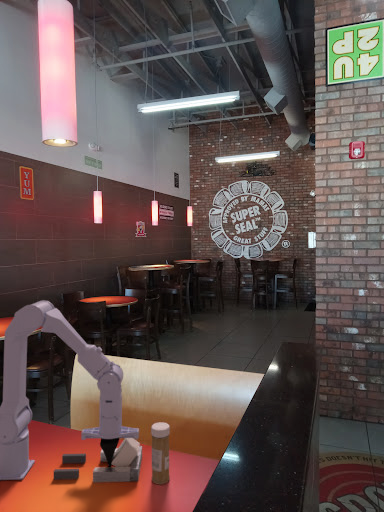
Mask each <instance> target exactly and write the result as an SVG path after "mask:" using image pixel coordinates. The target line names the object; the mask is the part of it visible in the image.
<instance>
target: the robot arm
mask: <svg viewBox="0 0 384 512" xmlns="http://www.w3.org/2000/svg"><path fill="white" fill-rule="evenodd" d="M40 327H41V330H40V332H42V333H53V334H56V335H57V337H59V338H60V339H61V340H62V341H63V342H64V343H65V344H66V345H67V346H68V347H69V348H71V349H72V350H73V352H75V353H76V354H77V362H78V363H79V364H80V365H81V366H82V367H83V369H84V370H85V371H87V373H88V374H89V375H90V376H91V377H92V378H93V379H94V380H96V381H97V383H96V385H97V388H98V390H99V409H98V410H99V412H98V413H99V416H98V417H99V419H98V420H99V423H98V426H97V427H90V428H83V429H82V431H81V435H80V436H81V437H80V438H81V441H85V440H86V439H100V442H99V446H100V448H101V450H103V452H104V454H105V456H106V459H107V467H113V466H112V464H111V463H112V460H113V455H114V452H115V449H116V448H118V444H119V442H120V439H125V438H133V439H135V440H139V437H140V428H137V427H136V428H135V427H129V426H123V425H122V424H123V421H122V420H123V419H122V418H123V416H122V414H123V413H122V412H123V395H122V393H123V392H122V391H123V390H122V382H123V379H124V371H123V369H122V368H121V365H119V364H117V363H115V362H114V361H113V360H110V359H109V358H108V357H107V356H106V355H105V354H104V353H103V352H102V351H103V349H102V348H101V346H96V345H95V344H88V343H87V342H86V341H85V340H84V339H83V337H81V335H80V334H79V333H78V332H77V331H76V329H75V328H74V327H73V326H72V325H71V324H70V322H68V320H67V319H66V318H65V317H64V315H63V313H62V312H61V311H60V310H59V309H58V308H57V307H55V306H54V304H53V303H51V302H50V301H49V300H44V299H42V300H39V301H37V302H34V303H32V304H26V305H25V306H23V307H22V308H20V309H18V310H17V311H16V312H15V313H14V316H13V318H12V319H11V321H10V323H9V324H8V326H7V327H6V329H5V331H4V342H3V343H4V345H3V346H4V348H3V377H2V379H3V381H2V382H3V386H2V402H1V405H0V481H7V480H8V481H9V480H11V481H12V480H13V481H14V480H18V481H19V480H24V478H25V477H26V475H27V474H28V472H29V471H30V470H31V468H32V467H33V465H34V464H35V459H30V456H29V455H30V453H29V452H30V451H29V449H30V447H29V445H30V444H29V443H30V440H29V438H30V437H29V435H30V434H29V432H30V431H29V428H28V427H29V426H28V425H29V424H30V423H31V422H32V419H33V411H32V409H31V407H30V399H29V398H28V397H27V396H26V394H27V392H26V391H27V363H28V361H27V359H28V357H27V355H28V354H27V353H28V337H29V336H30V335H32V334H33V333H34V332H35V331H36V330H38V329H39V328H40Z"/></svg>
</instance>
